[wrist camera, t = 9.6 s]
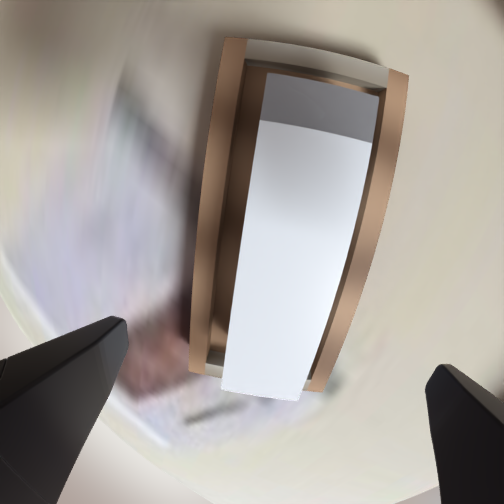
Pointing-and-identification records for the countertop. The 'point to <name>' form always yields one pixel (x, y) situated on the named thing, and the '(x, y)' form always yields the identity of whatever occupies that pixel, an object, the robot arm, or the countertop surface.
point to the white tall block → (296, 230)
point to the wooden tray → (238, 181)
